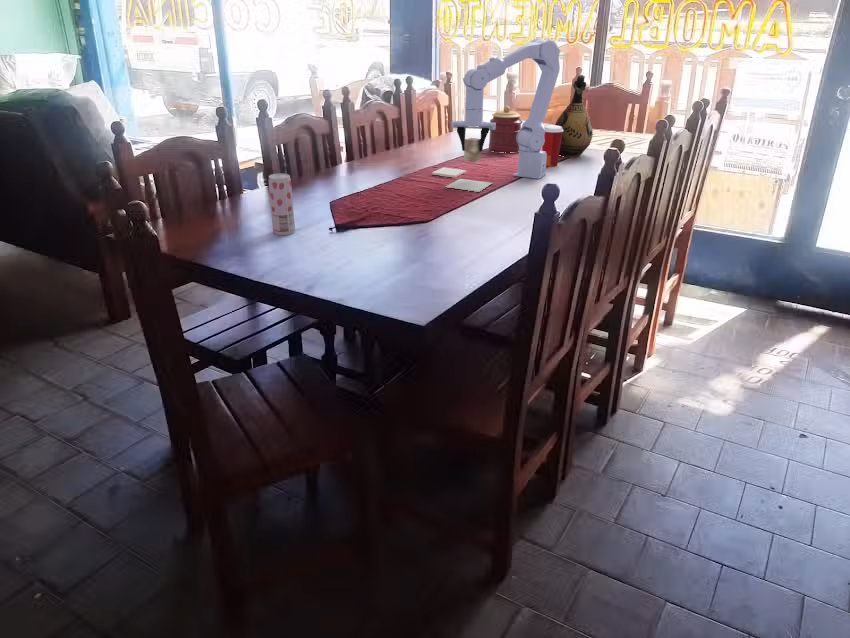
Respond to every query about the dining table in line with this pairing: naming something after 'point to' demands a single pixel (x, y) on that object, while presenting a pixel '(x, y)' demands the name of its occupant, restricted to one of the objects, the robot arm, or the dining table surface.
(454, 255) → the dining table surface
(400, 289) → the dining table surface
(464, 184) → the mat
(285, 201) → the beverage can
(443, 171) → the tile
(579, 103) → the ceramic jug
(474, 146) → the pusher block
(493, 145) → the canister
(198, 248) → the dining table surface
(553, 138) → the paper cup
